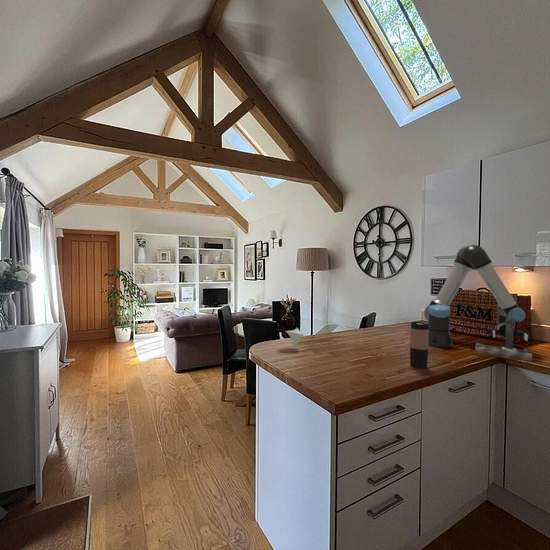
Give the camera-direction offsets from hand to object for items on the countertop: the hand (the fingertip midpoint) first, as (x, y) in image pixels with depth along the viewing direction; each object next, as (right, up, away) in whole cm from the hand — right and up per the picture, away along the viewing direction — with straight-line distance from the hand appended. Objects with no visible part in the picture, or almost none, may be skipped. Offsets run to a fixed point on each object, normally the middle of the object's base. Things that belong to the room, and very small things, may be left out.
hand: (510, 336), depth 162 cm
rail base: (-1, -11, +5) cm, 12 cm away
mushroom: (-112, -9, +8) cm, 112 cm away
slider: (+2, -9, +3) cm, 10 cm away
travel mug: (-56, -10, -18) cm, 60 cm away
